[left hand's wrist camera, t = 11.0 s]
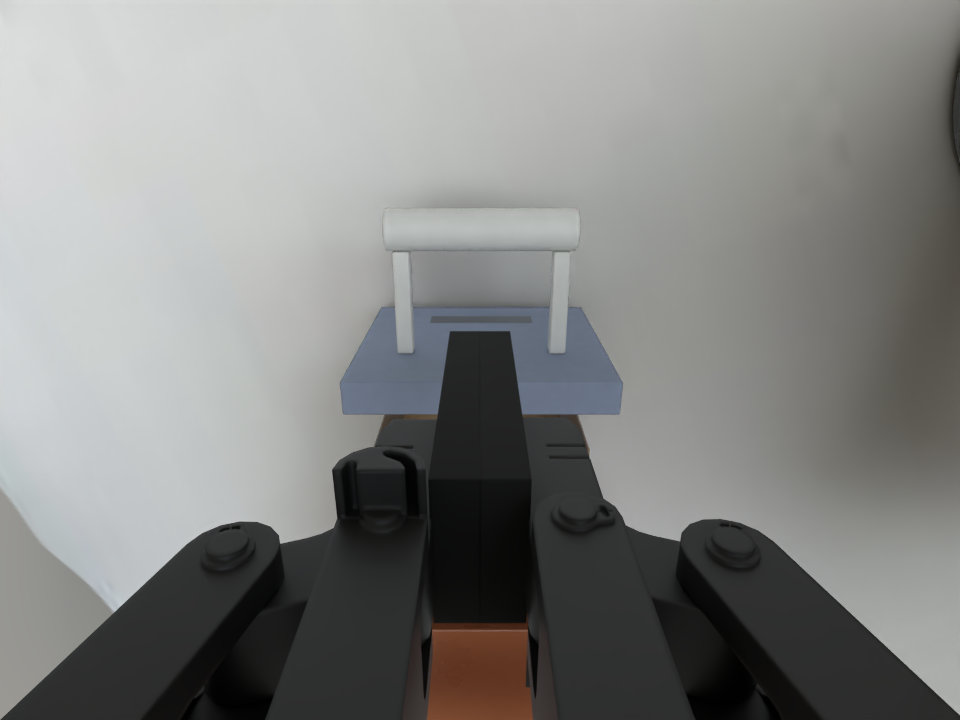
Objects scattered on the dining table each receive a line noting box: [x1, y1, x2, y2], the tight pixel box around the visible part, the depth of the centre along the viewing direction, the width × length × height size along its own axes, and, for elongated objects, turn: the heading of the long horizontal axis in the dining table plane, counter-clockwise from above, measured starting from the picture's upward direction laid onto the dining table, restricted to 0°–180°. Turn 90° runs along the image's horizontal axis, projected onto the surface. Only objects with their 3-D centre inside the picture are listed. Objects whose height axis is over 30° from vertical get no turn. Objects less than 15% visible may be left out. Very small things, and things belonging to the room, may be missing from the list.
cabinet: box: [427, 617, 533, 720], centre depth 31 cm, size 21×10×11 cm, turn 0°
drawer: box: [340, 208, 623, 454], centre depth 26 cm, size 25×9×9 cm, turn 0°
